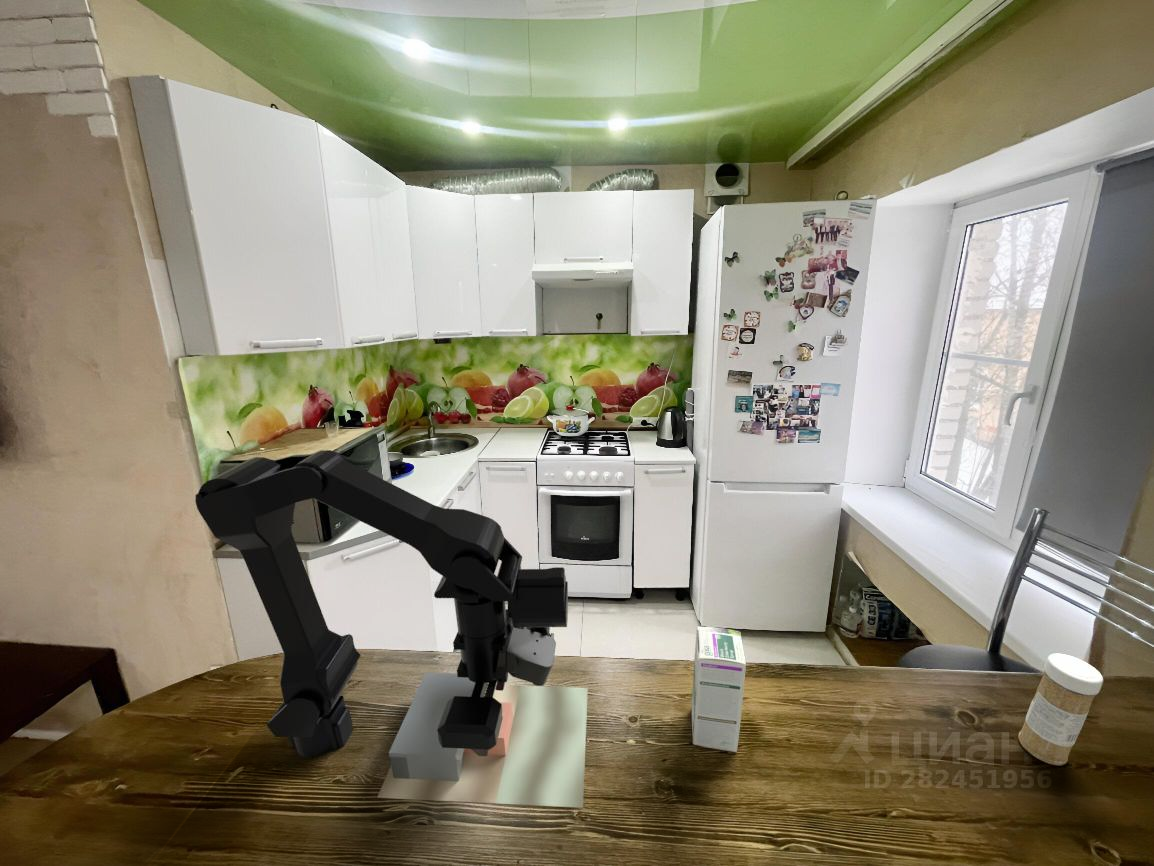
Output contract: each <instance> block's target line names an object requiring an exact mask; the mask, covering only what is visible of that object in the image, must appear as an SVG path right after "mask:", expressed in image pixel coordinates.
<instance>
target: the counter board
mask: <svg viewBox="0 0 1154 866" xmlns="http://www.w3.org/2000/svg"><path fill="white" fill-rule="evenodd" d="M588 689H589V688H588V687H576V686H550V685H549V686H548V685H547V686H544V685H542V686H537V685H521V684H519V685H517V684H513V685H512V684H505V685H504V690H502V691H499V690H496V689H495V693H494V696H493V698H495V699H496V700H497V701H498V702H506V703H512V711H513V723H512V728H511V733H510V737H509V742H508V747H507V752H506V756H501V755H487V756H478V755H477V754H463V763H464V765H463V769H462V772H461V775H460V779H459V781H444V780H423V779H402V778H394V776H393V772H392V767H391V766H390V767H389V768H388V769H389V770H388V772H387V774H386V776H385V779H384V781H383V784H382V786H381V788H380V790H379V792H378V795H377V798H378V799H379V798H381V799H382V798H383V799H398V800H400V799H401V800H416V801H417V800H418V801H419V800H420V801H437V802H438V801H439V802H458V803H459V802H460V803H478V804H479V803H480V804H497V805H516V806H517V805H519V806H537V807H555V808H556V807H560V808H577V809H578V808H579V809H584V793H585V789H584V787H585V785H584V784H585V768H586V767H585V765H586V763H585V762H586V761H585V760H586V738H587V719H588V718H587V715H588V713H587V712H588V692H589V691H588ZM486 690H487V688H486ZM485 693H486V692H485ZM484 696H485V695H484Z"/></svg>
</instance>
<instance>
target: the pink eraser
mask: <svg viewBox="0 0 1154 866" xmlns="http://www.w3.org/2000/svg"><path fill="white" fill-rule="evenodd" d="M500 703H501V704H502V717H503V718H502V723H501V727H500V731H499V735H498V739H497V743H496V745H495V746H494V747H493V748H491V749H490V750H488V755H501V756H506V752H507V747H508V742H509V737H510V733H511V728H512V723H513V711H512V703H506V702H500ZM463 754H476V753H475V752H473V751H472V750H471V749H464V751H463Z"/></svg>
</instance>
